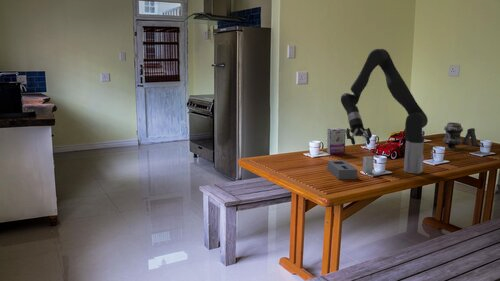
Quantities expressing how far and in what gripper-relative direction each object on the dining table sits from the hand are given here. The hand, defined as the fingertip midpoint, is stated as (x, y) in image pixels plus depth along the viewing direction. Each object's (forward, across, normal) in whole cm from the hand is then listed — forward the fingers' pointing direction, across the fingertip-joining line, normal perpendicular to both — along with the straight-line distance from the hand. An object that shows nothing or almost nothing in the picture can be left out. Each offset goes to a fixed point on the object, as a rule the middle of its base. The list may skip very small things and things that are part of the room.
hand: (361, 144), depth 239 cm
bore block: (+18, -15, +2) cm, 23 cm away
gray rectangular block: (+18, 0, +2) cm, 18 cm away
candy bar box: (-17, -2, +37) cm, 41 cm away
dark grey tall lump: (-20, +83, +40) cm, 94 cm away
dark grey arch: (-28, +104, +48) cm, 118 cm away
